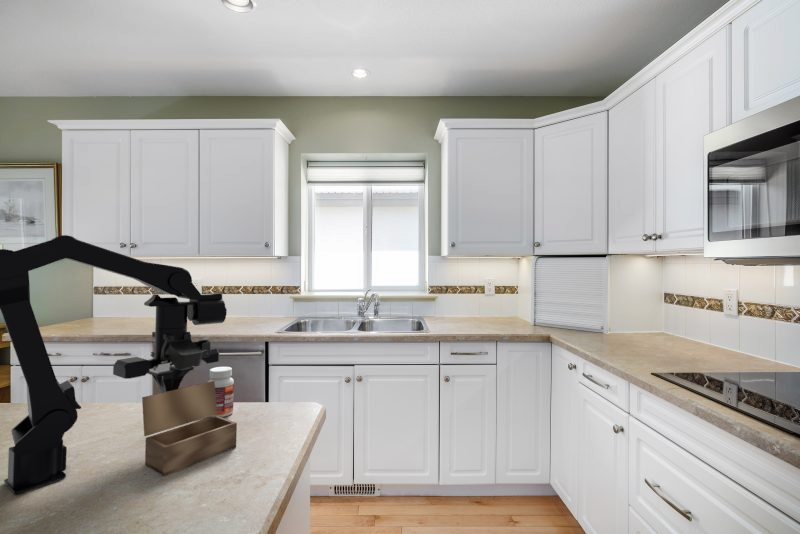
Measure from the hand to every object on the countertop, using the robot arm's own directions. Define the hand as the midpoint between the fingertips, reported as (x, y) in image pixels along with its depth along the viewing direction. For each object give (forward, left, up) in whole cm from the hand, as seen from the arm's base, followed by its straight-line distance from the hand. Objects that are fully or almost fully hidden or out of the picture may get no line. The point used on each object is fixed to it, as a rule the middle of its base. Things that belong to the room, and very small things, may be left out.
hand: (169, 402), depth 81 cm
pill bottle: (+16, +7, -9) cm, 20 cm away
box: (0, -9, -8) cm, 13 cm away
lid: (0, -5, 0) cm, 5 cm away
